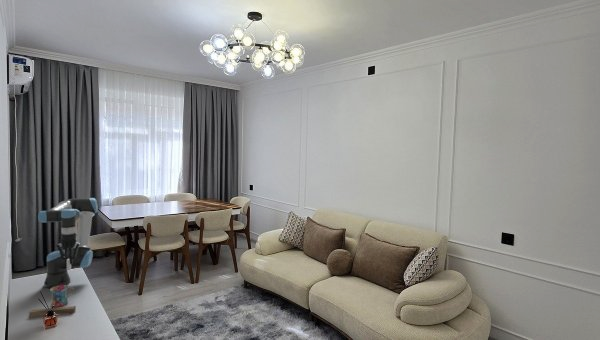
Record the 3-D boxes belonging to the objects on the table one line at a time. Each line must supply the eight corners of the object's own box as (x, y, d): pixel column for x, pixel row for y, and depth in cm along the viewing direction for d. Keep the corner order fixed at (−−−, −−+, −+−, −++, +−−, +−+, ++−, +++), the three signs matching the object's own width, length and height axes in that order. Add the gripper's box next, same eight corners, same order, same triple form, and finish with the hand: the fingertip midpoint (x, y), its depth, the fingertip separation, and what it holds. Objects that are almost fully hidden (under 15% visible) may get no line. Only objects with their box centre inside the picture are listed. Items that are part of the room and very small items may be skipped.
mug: (50, 309, 196) (50, 292, 196) (50, 303, 203) (49, 287, 203) (74, 304, 204) (74, 287, 203) (73, 298, 211) (73, 282, 210)
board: (31, 314, 189) (31, 309, 189) (75, 310, 195) (75, 305, 195) (29, 317, 187) (29, 312, 186) (73, 313, 192) (73, 308, 192)
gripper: (54, 235, 206) (54, 271, 207) (78, 234, 209) (78, 270, 211) (59, 232, 213) (59, 267, 214) (82, 231, 217) (82, 266, 218)
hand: (69, 269), depth 213 cm, fingers closed
